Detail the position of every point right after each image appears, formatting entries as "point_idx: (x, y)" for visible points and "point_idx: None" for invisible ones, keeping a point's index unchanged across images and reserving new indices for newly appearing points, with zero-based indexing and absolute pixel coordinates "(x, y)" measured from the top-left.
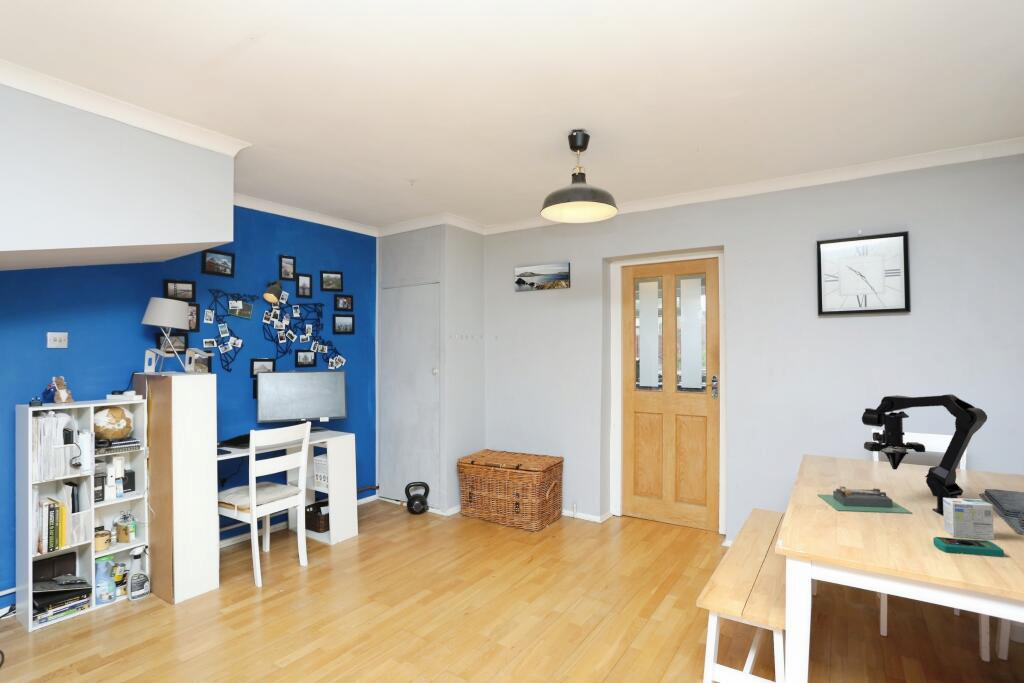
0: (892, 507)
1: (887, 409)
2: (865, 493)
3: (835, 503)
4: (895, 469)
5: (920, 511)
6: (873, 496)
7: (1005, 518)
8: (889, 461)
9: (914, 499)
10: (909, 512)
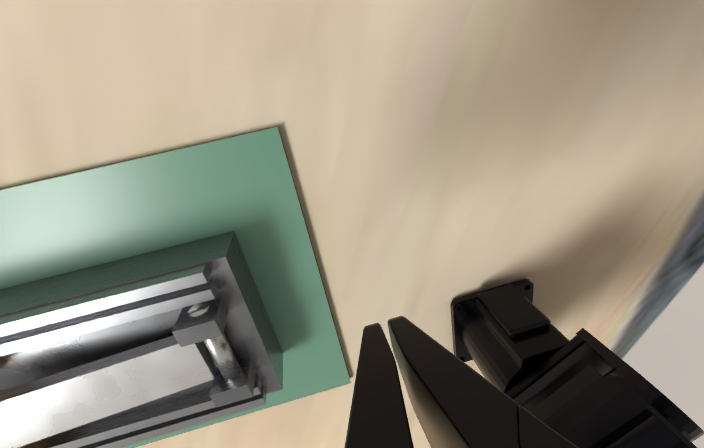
0: (284, 346)
1: None
2: (129, 401)
3: None
4: (393, 343)
5: None
6: (180, 425)
7: (651, 299)
8: (349, 437)
9: (451, 110)
10: (340, 385)
